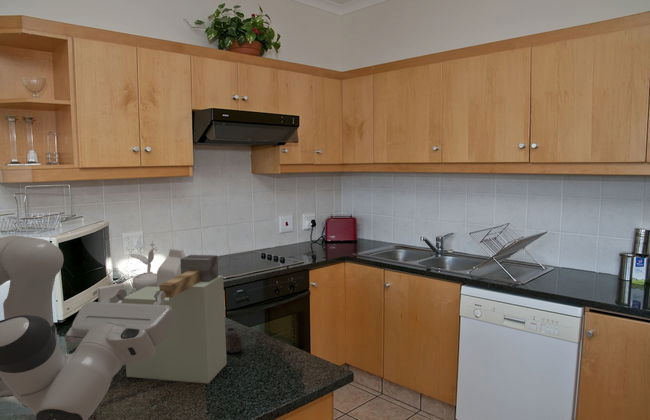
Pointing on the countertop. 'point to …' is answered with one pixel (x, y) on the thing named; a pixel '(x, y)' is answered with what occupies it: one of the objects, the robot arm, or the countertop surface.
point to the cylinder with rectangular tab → (108, 291)
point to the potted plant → (148, 277)
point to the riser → (187, 335)
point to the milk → (170, 266)
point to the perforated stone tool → (232, 339)
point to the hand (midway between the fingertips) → (142, 292)
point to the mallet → (191, 274)
